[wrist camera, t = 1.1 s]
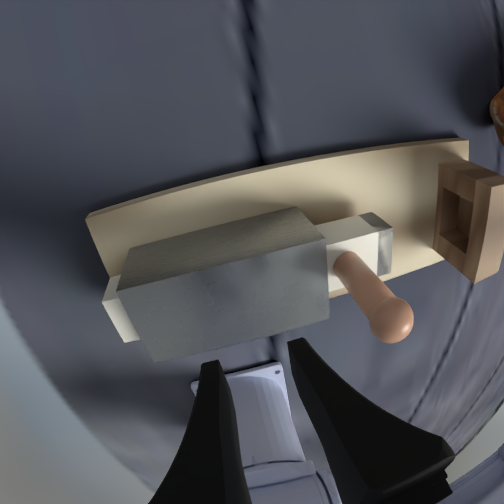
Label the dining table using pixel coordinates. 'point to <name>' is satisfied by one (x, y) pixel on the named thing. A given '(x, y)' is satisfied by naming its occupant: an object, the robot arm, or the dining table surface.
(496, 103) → the tin
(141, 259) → the grey rectangular sleeve
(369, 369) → the dining table surface
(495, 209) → the socket block
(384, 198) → the base board
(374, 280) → the white bar
